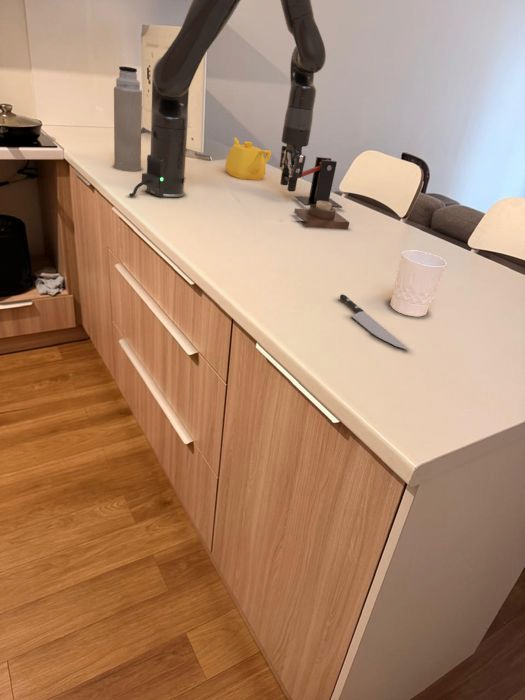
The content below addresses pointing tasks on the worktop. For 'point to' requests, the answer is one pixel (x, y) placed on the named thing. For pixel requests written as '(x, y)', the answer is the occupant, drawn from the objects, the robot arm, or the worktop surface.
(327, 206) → the button
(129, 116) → the thermos bottle
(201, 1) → the robot arm
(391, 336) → the chef's knife
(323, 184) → the bracket
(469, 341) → the worktop surface
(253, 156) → the teapot
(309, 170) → the lever
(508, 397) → the worktop surface
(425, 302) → the white cup
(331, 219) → the button block
